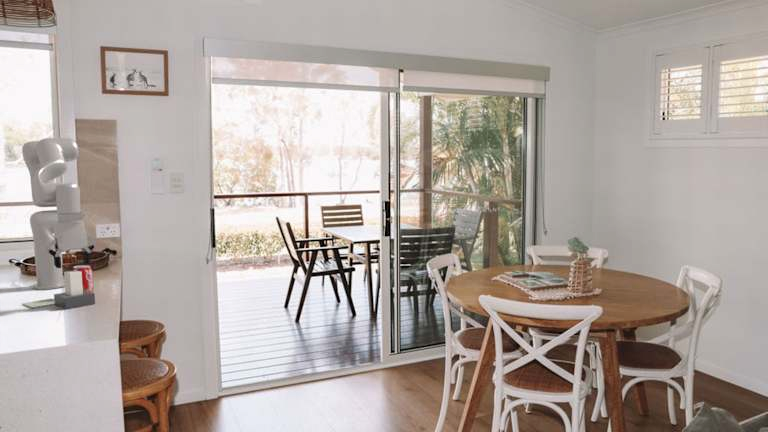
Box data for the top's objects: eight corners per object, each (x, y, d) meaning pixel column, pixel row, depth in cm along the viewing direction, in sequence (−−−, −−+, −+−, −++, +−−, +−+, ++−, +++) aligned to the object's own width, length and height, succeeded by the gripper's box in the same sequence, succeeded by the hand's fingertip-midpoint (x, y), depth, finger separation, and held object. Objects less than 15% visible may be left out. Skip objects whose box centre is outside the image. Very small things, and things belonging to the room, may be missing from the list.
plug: (66, 304, 220) (64, 271, 218) (77, 302, 223) (75, 270, 221) (72, 306, 216) (69, 273, 215) (83, 304, 219) (81, 271, 218)
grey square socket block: (54, 305, 219) (54, 294, 219) (83, 300, 226) (82, 289, 226) (66, 309, 212) (65, 298, 212) (95, 304, 220) (94, 293, 219)
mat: (22, 304, 221) (22, 303, 221) (51, 299, 228) (51, 298, 228) (32, 308, 214) (32, 307, 214) (62, 303, 222) (62, 302, 222)
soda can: (85, 299, 227) (83, 268, 226) (68, 299, 228) (66, 267, 227) (97, 295, 234) (95, 264, 233) (81, 295, 235) (79, 264, 234)
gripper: (89, 216, 225) (92, 261, 227) (39, 219, 212) (42, 268, 214) (98, 216, 220) (101, 263, 222) (47, 220, 207) (51, 270, 209)
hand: (72, 265), depth 218 cm, fingers open, 9 cm apart
